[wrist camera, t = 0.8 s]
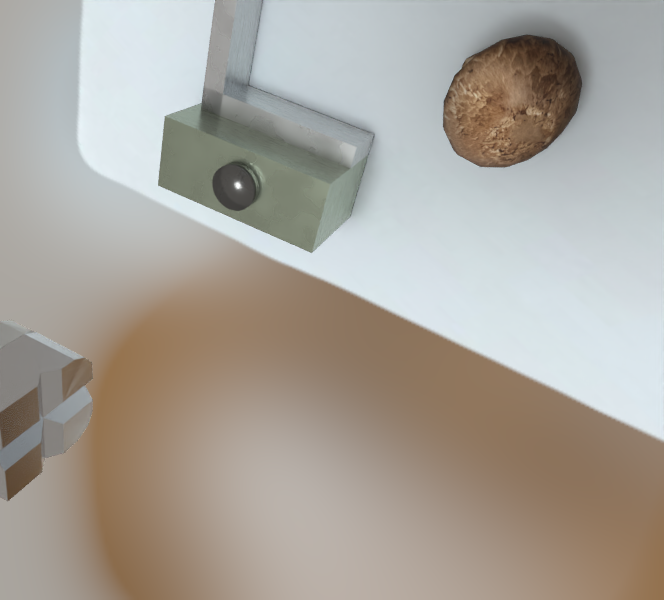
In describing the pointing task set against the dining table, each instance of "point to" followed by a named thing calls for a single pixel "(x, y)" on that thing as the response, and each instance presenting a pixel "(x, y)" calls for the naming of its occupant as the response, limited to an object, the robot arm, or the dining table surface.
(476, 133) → the mushroom
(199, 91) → the dining table surface
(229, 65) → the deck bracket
